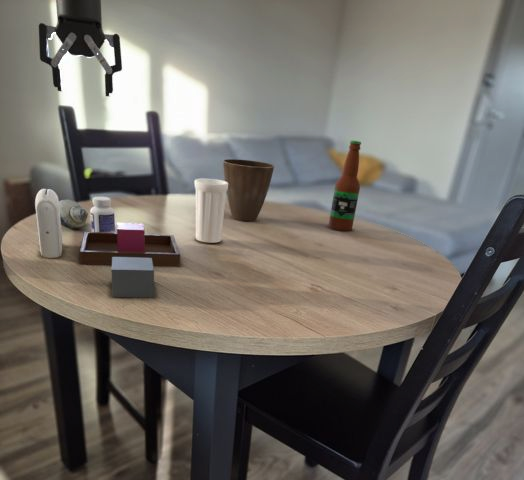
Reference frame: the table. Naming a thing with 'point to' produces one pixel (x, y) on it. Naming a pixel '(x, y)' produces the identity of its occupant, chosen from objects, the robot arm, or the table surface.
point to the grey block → (132, 277)
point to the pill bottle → (102, 215)
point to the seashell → (72, 214)
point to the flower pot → (246, 187)
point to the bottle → (346, 192)
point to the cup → (210, 209)
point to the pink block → (130, 237)
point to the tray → (105, 247)
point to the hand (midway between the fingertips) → (84, 93)
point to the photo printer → (48, 223)
